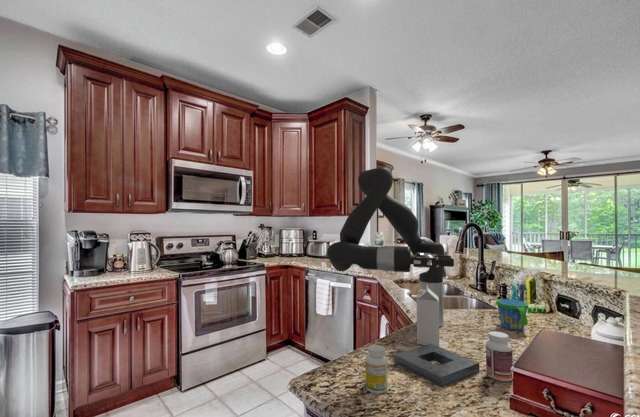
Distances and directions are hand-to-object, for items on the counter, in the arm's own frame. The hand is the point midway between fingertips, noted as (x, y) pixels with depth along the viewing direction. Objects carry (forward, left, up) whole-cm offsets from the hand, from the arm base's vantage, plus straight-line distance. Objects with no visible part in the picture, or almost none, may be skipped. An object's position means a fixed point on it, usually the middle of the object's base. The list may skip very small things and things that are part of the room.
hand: (452, 260), depth 88 cm
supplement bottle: (-4, -25, -30) cm, 40 cm away
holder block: (-4, -3, -30) cm, 30 cm away
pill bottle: (+8, +7, -30) cm, 32 cm away
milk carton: (-18, +11, -30) cm, 37 cm away
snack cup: (-11, +52, -30) cm, 61 cm away
